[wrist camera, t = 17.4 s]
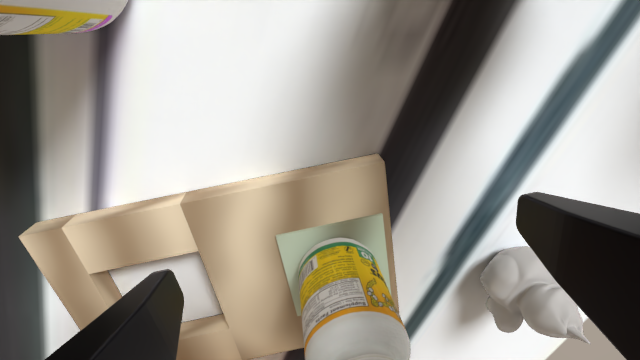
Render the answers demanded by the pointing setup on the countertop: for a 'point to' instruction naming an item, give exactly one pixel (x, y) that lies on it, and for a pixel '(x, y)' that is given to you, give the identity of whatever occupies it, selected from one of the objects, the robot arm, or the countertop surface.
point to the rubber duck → (529, 296)
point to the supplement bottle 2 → (348, 305)
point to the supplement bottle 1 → (56, 15)
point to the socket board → (224, 250)
